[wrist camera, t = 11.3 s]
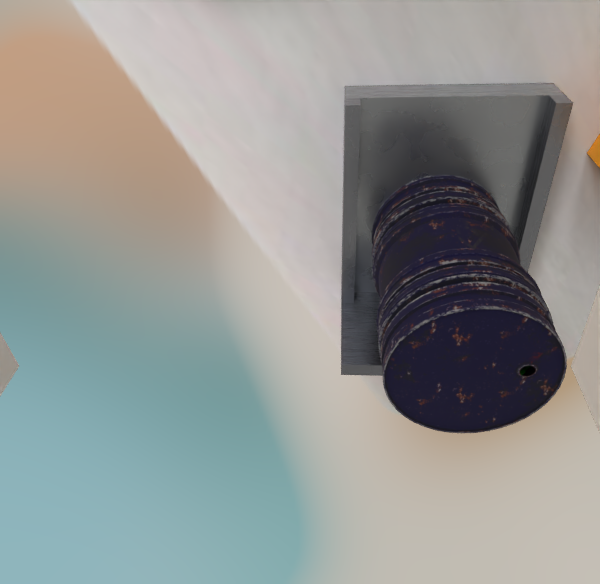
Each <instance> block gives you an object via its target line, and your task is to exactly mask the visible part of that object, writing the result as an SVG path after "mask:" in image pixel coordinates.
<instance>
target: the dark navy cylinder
mask: <svg viewBox="0 0 600 584" xmlns="http://www.w3.org/2000/svg"><path fill="white" fill-rule="evenodd" d="M372 276H373V281H374V285H375V288H376V291H377V293H378V295H379V297H380V302H379V306H378V311H377V318H376V325H377V332H378V346H379V355H380V358H381V362H382V371H383V385H384V389H385V392H386V395H387V397H388V399H389V400H390V402H391V404H392V405H393V406H394V407H395V408H396V410H397V411H398V412H400V413H401V414H402V415H403V416H405V417H406V418H408V419H409V420H411V421H413V422H414V423H417V424H419V425H421V426H424V427H427V428H430V429H434V430H437V431H443V432H450V433H477V432H484V431H490V430H495V429H498V428H502V427H505V426H508V425H511V424H514V423H516V422H518V421H520V420H522V419H525V418H526V417H528V416H530V415H532V414H533V413H535V412H536V411H538V410H539V409H540V408H542V407H543V406H544V405H545V404H546V403H547V402H548V401H549V400H550V399H551V398H552V397H553V396H554V395H555V393H556V392H557V390H558V389H559V387H560V385H561V383H562V381H563V379H564V376H565V372H566V367H567V365H566V354H565V350H564V347H563V345H562V342H561V340H560V338H559V336H558V334H557V333H556V331H555V328H554V325H553V321H552V317H551V314H550V312H549V310H548V307H547V305H546V303H545V301H544V299H543V298H542V296H541V292H540V289H539V288H538V286H537V284H536V282H535V281H534V279H533V278H532V277H531V276H530V275H529V274H528V272H527V271H526V270H525V269H524V268H523V267H522V266H521V262H520V253H519V247H518V244H517V240H516V239H515V237H514V235H513V233H512V231H511V229H510V227H509V225H508V223H507V221H506V219H505V217H504V216H503V214H502V213H501V212H500V210H499V208H498V206H497V204H496V202H495V200H494V198H493V197H492V196H491V195H490V193H489V192H488V191H487V190H485V189H484V188H483V187H482V186H481V185H479V184H477V183H475V182H474V181H472V180H469V179H466V178H463V177H459V176H454V175H434V176H428V177H424V178H420V179H417V180H415V181H412V182H410V183H408V184H406V185H404V186H402V187H401V188H399V189H398V190H397V191H395V192H394V193H393V194H392V195H391V196H390V197H389V198H388V199H387V200H386V201H385V202H384V203H383V205H382V206H381V207H380V209H379V211H378V213H377V215H376V217H375V220H374V223H373V228H372Z"/></svg>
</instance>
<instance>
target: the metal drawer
mask: <svg viewBox="0 0 600 584" xmlns="http://www.w3.org/2000/svg"><path fill="white" fill-rule="evenodd" d="M572 105H573V102H572V101H571V100H570V99H569V98H568V97H567V96H566V95H565V94H564V93H563V92H562V91H561V90H560V89H559V88H558V87H557V86H556V85H555V84H554V83H530V84H463V85H395V86H345V102H344V163H343V224H342V289H341V375H381V376H383V371H382V362H381V358H380V355H379V346H378V332H377V325H376V318H377V311H378V306H379V302H380V297H379V295H378V293H377V291H376V288H375V285H374V281H373V276H372V228H373V223H374V220H375V217H376V215H377V213H378V211H379V209H380V207H381V206H382V205H383V203H384V202H385V201H386V200H387V199H388V198H389V197H390V196H391V195H392V194H393V193H394V192H395V191H397V190H398V189H399V188H401V187H402V186H404V185H406V184H408V183H410V182H412V181H415V180H417V179H420V178H424V177H428V176H434V175H454V176H459V177H463V178H466V179H469V180H472V181H474V182H475V183H477V184H479V185H481V186H482V187H483V188H484V189H485V190H487V191H488V192H489V193H490V195H491V196H492V197H493V198H494V200H495V202H496V204H497V206H498V208H499V210H500V212H501V213H502V214H503V216H504V217H505V219H506V221H507V223H508V225H509V227H510V229H511V231H512V233H513V235H514V237H515V239H516V240H517V244H518V247H519V253H520V262H521V266H522V267H523V268H524V269H525V270H526V271H527V272H528V268H529V265H530V261H531V257H532V254H533V250H534V246H535V242H536V239H537V235H538V231H539V228H540V224H541V220H542V217H543V213H544V209H545V205H546V202H547V198H548V194H549V191H550V187H551V183H552V179H553V176H554V172H555V168H556V165H557V161H558V157H559V153H560V150H561V146H562V142H563V139H564V135H565V131H566V127H567V124H568V120H569V116H570V113H571V109H572Z"/></svg>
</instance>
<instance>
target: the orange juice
mask: <svg viewBox="0 0 600 584" xmlns="http://www.w3.org/2000/svg"><path fill="white" fill-rule="evenodd" d="M587 154H588V155H589V156H590V157H591V159H592V160H593V161H594V162H595V163H596V164H597V165H598V167H599V168H600V134H599V136H598V137H597V139H596V140H595V142H594V143H593V145H592V146H591V148H590V149H589V151H588V152H587Z"/></svg>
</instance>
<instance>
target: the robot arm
mask: <svg viewBox="0 0 600 584" xmlns="http://www.w3.org/2000/svg"><path fill="white" fill-rule="evenodd" d="M18 367H19V365H18V363H17V361H16V359H15V358H14V356H13V354H12V353H11V351H10V349H9V347H8V345H7V344H6V342H5V340H4V338H3V337H2V335H1V333H0V396H1V394H2V392H3V391H4V389H5V388H6V386H7V384H8V383H9V381H10V380H11V378H12V377H13V375H14V373H15V372H16V370H17V369H18ZM571 368H572V370H573V372H574V375H575V377H576V379H577V381H578V384H579V386H580V389H581V391H582V393H583V396H584V398H585V400H586V402H587V405H588V407H589V409H590V412H591V414H592V416H593V419H594V421H595V423H596V426H597V428H598V430H599V432H600V286H599V289H598V291H597V294H596V297H595V300H594V303H593V306H592V308H591V311H590V314H589V317H588V320H587V322H586V325H585V328H584V331H583V334H582V337H581V339H580V342H579V345H578V348H577V351H576V353H575V356H574V359H573V362H572V365H571Z"/></svg>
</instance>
